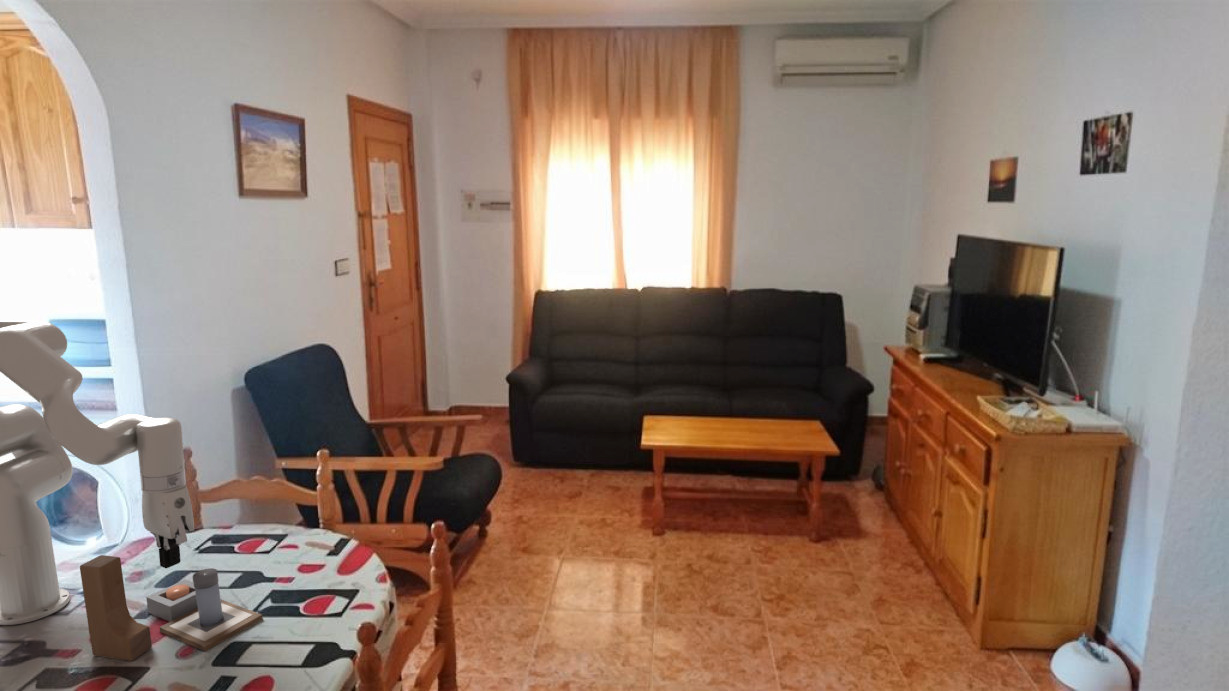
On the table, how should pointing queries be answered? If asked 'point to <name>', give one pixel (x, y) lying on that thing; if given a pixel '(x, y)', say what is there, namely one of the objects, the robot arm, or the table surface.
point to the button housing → (172, 603)
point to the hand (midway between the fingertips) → (170, 564)
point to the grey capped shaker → (208, 596)
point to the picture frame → (211, 626)
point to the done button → (177, 592)
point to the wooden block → (111, 612)
